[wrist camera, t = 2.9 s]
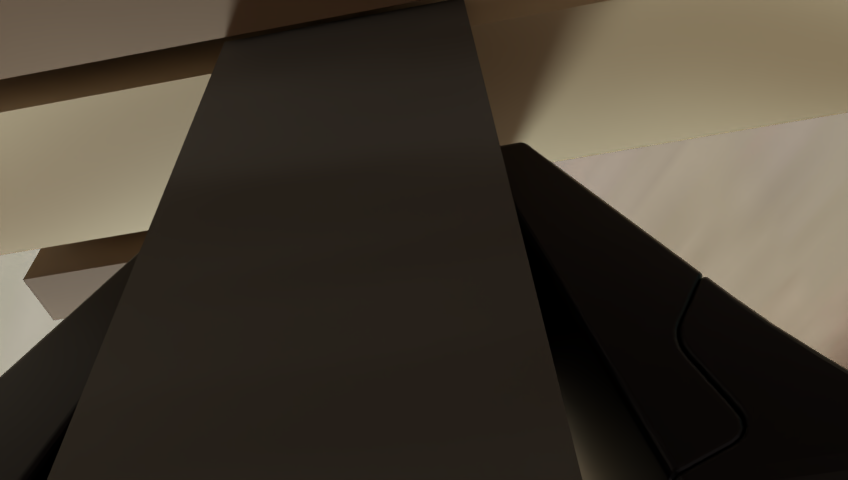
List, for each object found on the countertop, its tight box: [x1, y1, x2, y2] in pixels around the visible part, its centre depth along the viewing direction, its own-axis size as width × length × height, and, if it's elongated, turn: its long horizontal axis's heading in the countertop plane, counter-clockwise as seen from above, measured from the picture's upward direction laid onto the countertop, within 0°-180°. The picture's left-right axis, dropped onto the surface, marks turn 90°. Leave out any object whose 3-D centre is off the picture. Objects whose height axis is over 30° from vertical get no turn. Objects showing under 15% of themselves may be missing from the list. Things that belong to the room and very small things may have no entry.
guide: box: [0, 0, 421, 320], centre depth 11 cm, size 5×8×2 cm
